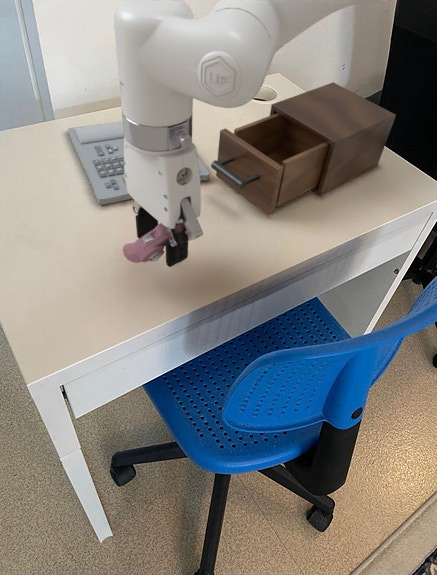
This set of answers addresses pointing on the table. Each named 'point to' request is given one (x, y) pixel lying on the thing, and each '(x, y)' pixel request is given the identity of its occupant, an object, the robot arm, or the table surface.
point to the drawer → (270, 161)
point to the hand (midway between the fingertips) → (162, 247)
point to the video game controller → (149, 245)
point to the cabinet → (340, 130)
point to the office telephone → (107, 159)
